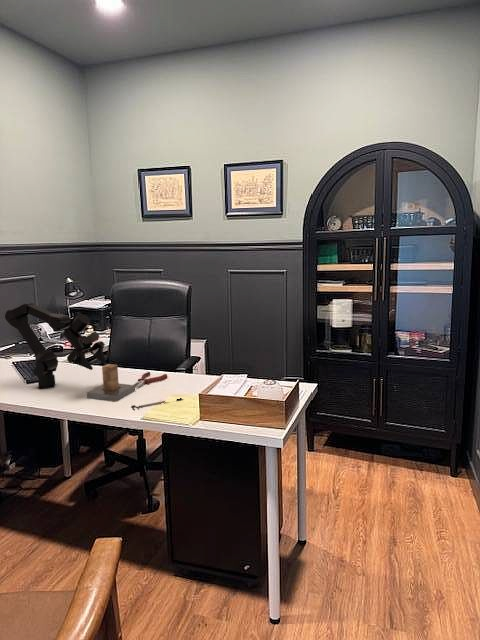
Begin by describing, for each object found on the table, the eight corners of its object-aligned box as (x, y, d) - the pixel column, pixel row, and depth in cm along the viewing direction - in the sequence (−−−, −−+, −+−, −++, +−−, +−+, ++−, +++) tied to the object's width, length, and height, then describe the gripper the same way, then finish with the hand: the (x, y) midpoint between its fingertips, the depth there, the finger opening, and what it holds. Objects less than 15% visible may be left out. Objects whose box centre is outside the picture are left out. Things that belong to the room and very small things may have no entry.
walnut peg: (104, 395, 190) (102, 366, 188) (110, 392, 194) (108, 363, 192) (112, 396, 189) (111, 367, 187) (119, 393, 193) (117, 364, 191)
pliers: (122, 388, 200) (122, 382, 200) (148, 376, 219) (147, 370, 218) (144, 391, 196) (143, 385, 196) (168, 378, 214) (168, 373, 214)
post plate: (87, 397, 188) (86, 392, 187) (107, 387, 201) (107, 382, 200) (115, 401, 183) (115, 395, 182) (135, 390, 196) (134, 385, 195)
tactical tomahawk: (134, 415, 171) (134, 412, 171) (130, 408, 177) (130, 405, 177) (187, 404, 180) (187, 402, 180) (182, 398, 186) (182, 395, 186)
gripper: (70, 331, 182) (95, 359, 180) (99, 322, 199) (122, 349, 197) (56, 348, 186) (80, 377, 184) (86, 339, 203) (108, 365, 201)
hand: (99, 366), depth 191 cm, fingers open, 9 cm apart
